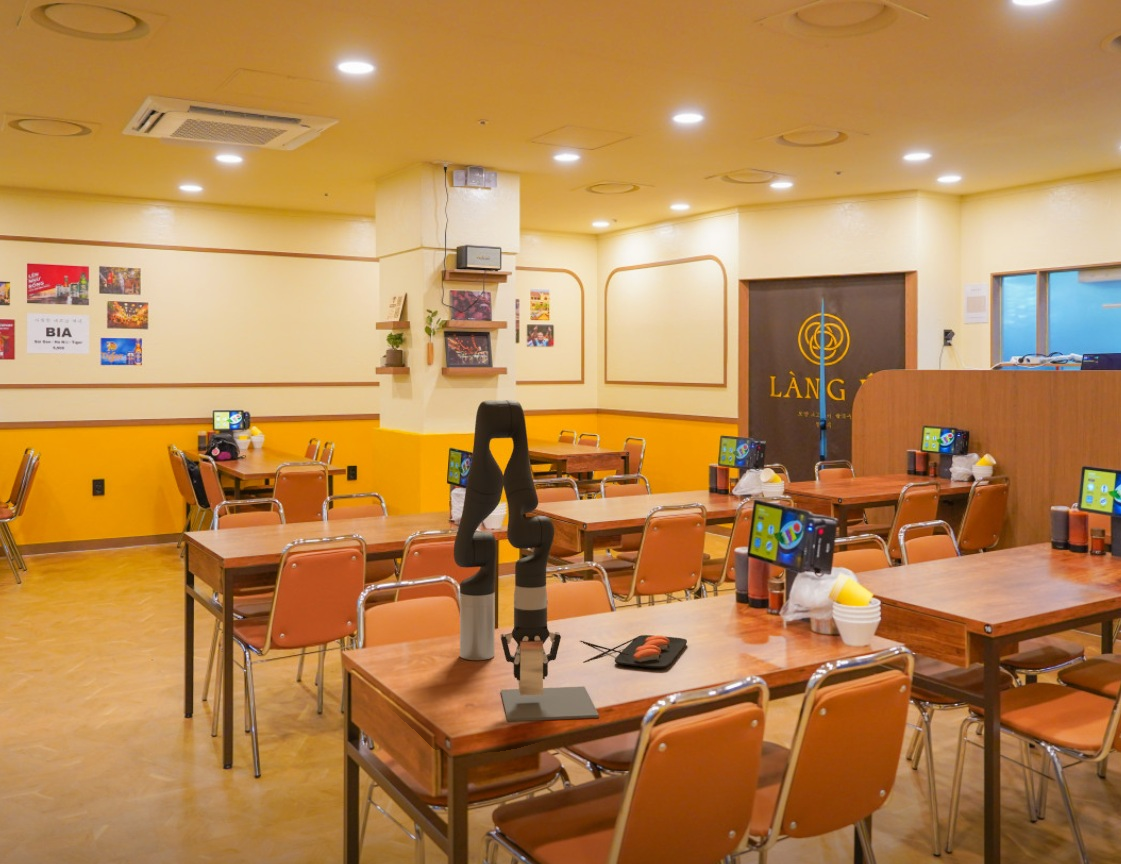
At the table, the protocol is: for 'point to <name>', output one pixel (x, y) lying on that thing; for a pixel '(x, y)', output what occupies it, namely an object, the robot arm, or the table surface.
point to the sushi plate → (647, 651)
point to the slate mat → (549, 704)
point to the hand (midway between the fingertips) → (530, 678)
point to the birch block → (531, 668)
